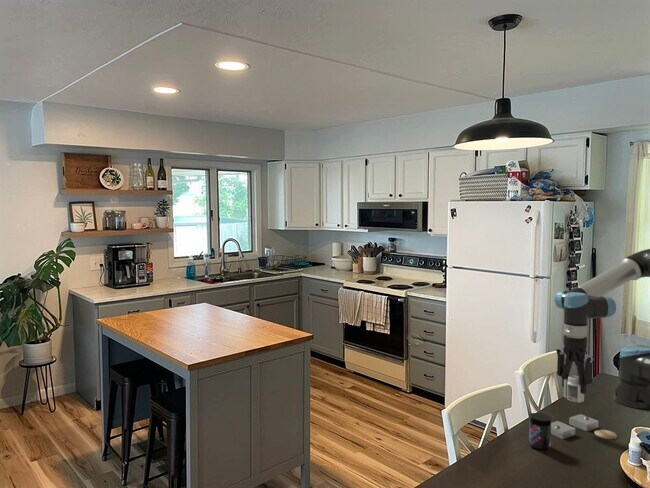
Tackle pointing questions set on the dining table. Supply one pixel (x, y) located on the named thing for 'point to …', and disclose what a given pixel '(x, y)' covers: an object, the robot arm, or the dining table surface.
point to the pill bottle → (572, 388)
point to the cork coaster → (605, 434)
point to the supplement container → (540, 431)
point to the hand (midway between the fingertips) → (573, 398)
